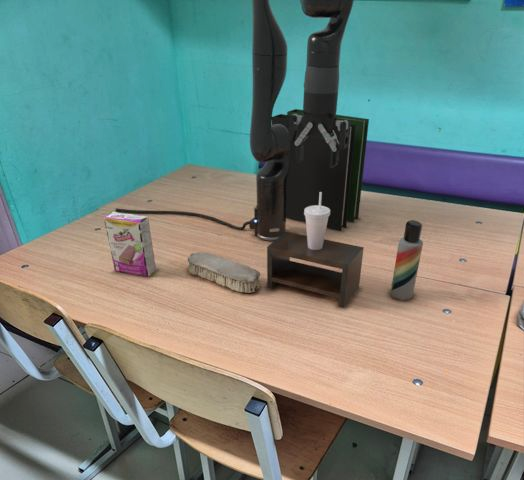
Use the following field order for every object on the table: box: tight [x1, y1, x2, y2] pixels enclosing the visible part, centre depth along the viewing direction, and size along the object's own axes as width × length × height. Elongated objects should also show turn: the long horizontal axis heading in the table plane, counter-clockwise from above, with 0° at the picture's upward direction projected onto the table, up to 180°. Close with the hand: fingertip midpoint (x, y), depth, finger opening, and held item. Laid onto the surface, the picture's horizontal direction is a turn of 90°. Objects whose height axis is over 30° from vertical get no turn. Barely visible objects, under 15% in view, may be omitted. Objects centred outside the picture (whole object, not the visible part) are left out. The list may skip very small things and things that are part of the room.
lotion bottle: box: [390, 219, 424, 301], centre depth 123 cm, size 6×6×20 cm
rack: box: [266, 230, 365, 309], centre depth 129 cm, size 22×11×12 cm, turn 61°
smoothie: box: [304, 192, 330, 250], centre depth 121 cm, size 6×6×14 cm
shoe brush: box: [187, 251, 261, 294], centre depth 135 cm, size 24×8×5 cm, turn 54°
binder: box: [271, 108, 370, 232], centre depth 163 cm, size 27×15×32 cm, turn 54°
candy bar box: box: [103, 211, 157, 278], centre depth 137 cm, size 11×5×16 cm, turn 71°
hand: (316, 164), depth 118 cm, fingers open, 8 cm apart
